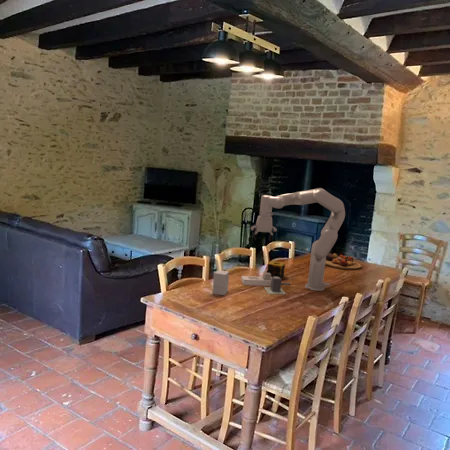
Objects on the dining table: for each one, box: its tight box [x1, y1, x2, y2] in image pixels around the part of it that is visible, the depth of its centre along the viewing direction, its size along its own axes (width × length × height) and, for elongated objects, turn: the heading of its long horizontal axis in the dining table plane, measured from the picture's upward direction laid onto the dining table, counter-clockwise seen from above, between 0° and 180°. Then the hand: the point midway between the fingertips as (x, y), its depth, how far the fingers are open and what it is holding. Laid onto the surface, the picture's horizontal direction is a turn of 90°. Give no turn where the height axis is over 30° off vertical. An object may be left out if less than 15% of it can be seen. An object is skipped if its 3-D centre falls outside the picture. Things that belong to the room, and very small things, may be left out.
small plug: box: [262, 272, 271, 280], centre depth 271 cm, size 4×4×5 cm
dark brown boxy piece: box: [266, 260, 286, 279], centre depth 288 cm, size 10×10×10 cm
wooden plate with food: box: [325, 252, 362, 271], centre depth 340 cm, size 32×32×8 cm
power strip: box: [240, 275, 291, 287], centre depth 272 cm, size 32×8×4 cm, turn 98°
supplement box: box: [212, 269, 230, 296], centre depth 246 cm, size 7×7×13 cm
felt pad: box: [263, 286, 287, 295], centre depth 259 cm, size 11×11×1 cm
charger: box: [269, 277, 283, 292], centre depth 258 cm, size 5×5×8 cm
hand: (262, 240), depth 272 cm, fingers open, 9 cm apart
